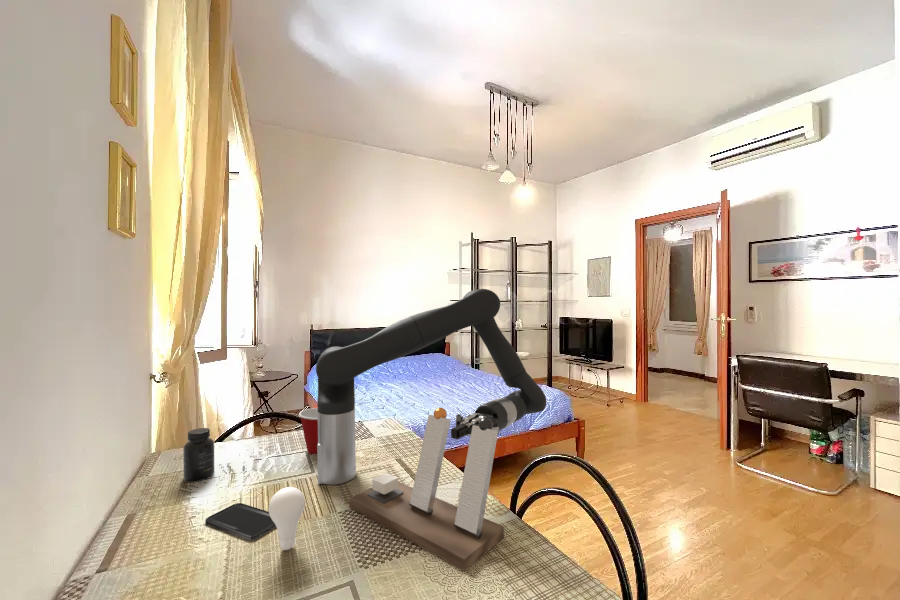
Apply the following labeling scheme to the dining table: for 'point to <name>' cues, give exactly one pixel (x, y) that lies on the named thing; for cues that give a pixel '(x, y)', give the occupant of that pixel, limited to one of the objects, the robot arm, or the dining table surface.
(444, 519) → the walnut panel
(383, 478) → the white button
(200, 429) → the supplement bottle
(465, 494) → the grey upright post
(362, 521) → the dining table surface
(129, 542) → the dining table surface
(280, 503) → the lightbulb
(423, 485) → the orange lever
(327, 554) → the dining table surface
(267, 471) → the dining table surface
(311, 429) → the plastic cup
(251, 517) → the phone
